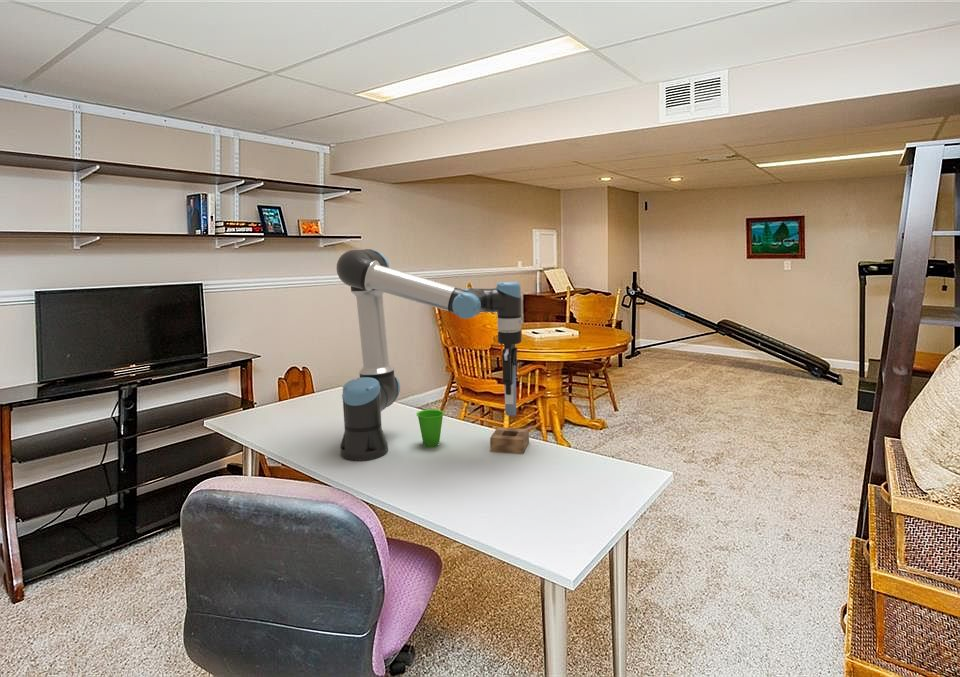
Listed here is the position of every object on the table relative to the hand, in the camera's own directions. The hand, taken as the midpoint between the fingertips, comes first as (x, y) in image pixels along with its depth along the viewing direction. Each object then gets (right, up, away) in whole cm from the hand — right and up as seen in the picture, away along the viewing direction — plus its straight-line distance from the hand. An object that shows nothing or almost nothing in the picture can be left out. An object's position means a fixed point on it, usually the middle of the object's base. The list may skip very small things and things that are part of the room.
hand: (510, 401), depth 180 cm
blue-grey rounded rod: (0, -4, +1) cm, 4 cm away
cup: (-26, -15, +5) cm, 31 cm away
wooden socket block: (0, -15, +3) cm, 15 cm away
